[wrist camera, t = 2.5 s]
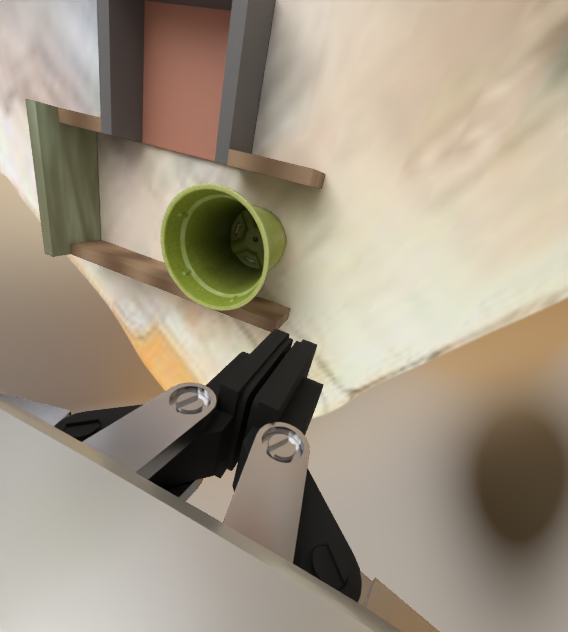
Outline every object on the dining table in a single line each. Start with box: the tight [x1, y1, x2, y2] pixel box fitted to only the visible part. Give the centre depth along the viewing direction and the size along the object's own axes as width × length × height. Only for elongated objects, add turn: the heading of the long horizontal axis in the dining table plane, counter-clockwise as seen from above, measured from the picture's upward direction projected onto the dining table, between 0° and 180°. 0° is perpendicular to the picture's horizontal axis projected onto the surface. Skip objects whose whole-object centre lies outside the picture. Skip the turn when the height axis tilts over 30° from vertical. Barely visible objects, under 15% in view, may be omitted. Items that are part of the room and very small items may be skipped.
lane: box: [26, 99, 325, 332], centre depth 29 cm, size 27×14×6 cm, turn 76°
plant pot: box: [161, 184, 286, 311], centre depth 26 cm, size 9×9×9 cm
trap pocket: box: [97, 0, 275, 165], centre depth 25 cm, size 13×12×4 cm
